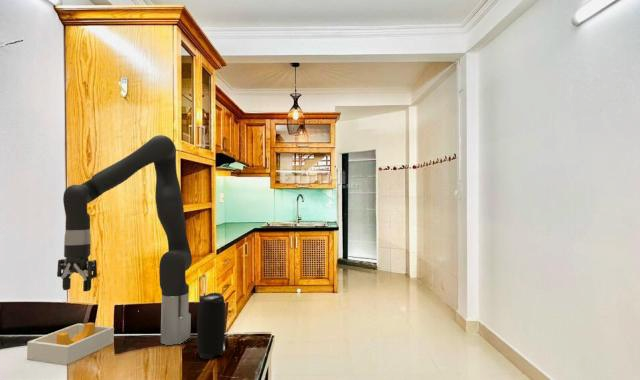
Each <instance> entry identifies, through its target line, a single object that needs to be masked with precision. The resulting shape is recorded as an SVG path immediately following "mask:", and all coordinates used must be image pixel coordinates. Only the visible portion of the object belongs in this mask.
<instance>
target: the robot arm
mask: <svg viewBox="0 0 640 380" xmlns="http://www.w3.org/2000/svg"><path fill="white" fill-rule="evenodd" d="M151 164H153V165H154V170H155V171H154V172H155V177H156V179H155V180H156V181H155V195H154V197H155V206H156V214H157V217H158V220H159V223H160V225H161V226H162V228H163V230H164V232H165V235H166V239H167V245H168V251H166V252H165V253H164V254H163V255H162V256H161V257H160V260H159V273H158V274H159V287H160V290H161V306H160V307H161V309H160V310H161V312H160V313H161V314H160V316H161V317H160V344H161V343H162V344H165V345H164V346H166V345H173V344H181V343H183V342H184V341H186V340H187V339H188V338H190V339H191V329H192V328H191V321H192V320H191V319H192V318H191V317H192V313H190V312H189V307H190V306H189V301H190V299H189V298H190V296H189V295H190V294H189V293H190V285H189V283H187V280H186V271H188V270H189V269H190V267H191V266H192V263H193V257H192V252H191V248H190V244H189V240H188V234H187V227H186V217H185V208H184V201H183V196H182V191H181V190H182V189H181V186H180V181H179V178H178V173H177V172H178V171H177V147H176V144H175V143H174V142H173V140H172V139H171V138H170V137H168V136H166V135H162V134H161V135H159V134H158V135H156V136H153V137H151V138H150V139H149V140H148V141H146V142H145V143H144V144H143V145H141V146H140V147H139V148H138V149H136V150H135V151H133V152H132V153H130V154H129V155H127V156H125V157H124V158H122V159H120V160H118V161H117V162H115V163H113V164H111V165H109V166H107V167H106V168H103V169H101V170H100V171H99V172H98V171H97V173H95V174H94V175H92V176H91V178H90V179H88V180H87V181H85V182H83V183H81V184H72V185H69V186H68V187H67V188H66V189H65V190H64V192H63V198H62V199H63V201H62V202H63V208H64V213H65V233H64V238H63V239H64V241H63V242H64V243H63V244H64V247H63V257H64V258H61V259H58V261H57V272H56V276H57V277H58V278H61V280H62V286H61V287H62V290H63V291H68V290H70V289H71V283H72V282H71V281H72V278H71V276H72V275H73V274H74V273H75V274H79V276H81V277H82V281H83V282H82V283H83V286H82V287H83V288H82V289H83V290H82V291H83V292H90V291H91V289H92V280H93V279H95V278H97V277H98V267H97V266H98V265H97V260H96V259H92V260H89V257H90V256H91V248H92V247H91V243H92V241H91V240H92V239H91V238H92V234H91V216H90V214H89V212H88V204H90V203H91V202H93V201H94V200H95V201H96V199H98V198H99V197H101V196H102V195H103V194H104V193H106V192H109V191H110V190H111V189H114V188H115V187H117V186H119V185H121V184H122V183H124V182H125V181H127V180H128V179H129V178H131V177H132V176H133V175H135V174H136V173H137V172H139V171H140V170H141V169H144V168H145V167H146V166H149V165H151ZM186 342H187V341H186ZM162 344H161V345H162ZM183 344H184V343H183ZM181 345H182V344H181ZM173 346H174V345H173Z"/></svg>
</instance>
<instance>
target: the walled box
mask: <svg viewBox="0 0 640 380" xmlns="http://www.w3.org/2000/svg"><path fill="white" fill-rule="evenodd" d="M84 324H85V323H76V324H73V325H70V326H67V327H64V328H62V329H59V330H56V331H54V332H51V333H48V334H45V335H42V336H40V337H38V338H35V339H31V340H29V341H27V345H26V348H27V349H26V352H27V353H26V360H31V361H37V362H42V363H43V362H44V363H50V364H56V365H63V366H64V365H65V366H68V365H70V364H72V363H75V362H77V361H79V360H81V359H82V358H85V357H87V356H89V355H91V354H93V353H96V352H97V351H99V350H102V349H104V348H106V347H108V346H110V345H113V344H114V341H115V340H114V338H115V337H114V335H115V332H114V331H115V327H113V326H104V325H96V324H95V334H94V335H92V336H89V337H87V338H85V339H82V340H80V341H77V342H75V343H73V344H70V345H68V346H67V345H60V344H56V342H57V334H60V333H62V332H63V333H69V338H70V339H72V338H73V337H74V336H75V335H76V334H79V333H81V332H82V331H83V329H84Z"/></svg>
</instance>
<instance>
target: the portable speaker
mask: <svg viewBox="0 0 640 380" xmlns="http://www.w3.org/2000/svg"><path fill="white" fill-rule="evenodd" d="M198 301H199V303H198V307H197V308H198V309H197V317H196V318H197V319H196V320H197V321H196V327H197V328H196V330H197V332H196V336H197V337H196V339H197V354H198V355H199V359H201V358H203V359H202V360H204V359H211V360H212V359H213V358H214V357H216V356H220V355H221V354H222V353H223V352H224V348H225V347H224V345H225V340H226V339H225V338H226V337H225V336H226V332H225V331H226V307H225V304H226V303H225V297H224V296H223V295H222V294H221V293H220V292H210V293H208V294H205V295H200V296H199V300H198ZM223 354H224V353H223ZM221 356H222V355H221Z"/></svg>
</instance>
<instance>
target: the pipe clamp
mask: <svg viewBox="0 0 640 380" xmlns="http://www.w3.org/2000/svg"><path fill="white" fill-rule="evenodd" d="M83 324H84V329H83V331H82V332H81V333H79V334H76V335H75V336H74V337H73V338H72V339H70V338H69V333H63V332H62V333H60V334H57V342H56V344H60V345H67V346H68V345H70V344H73V343H75V342H77V341H80V340H82V339H85V338H87V337H89V336H92V335H94V334H95V325H96V323H95V322H87V323H83Z"/></svg>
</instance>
